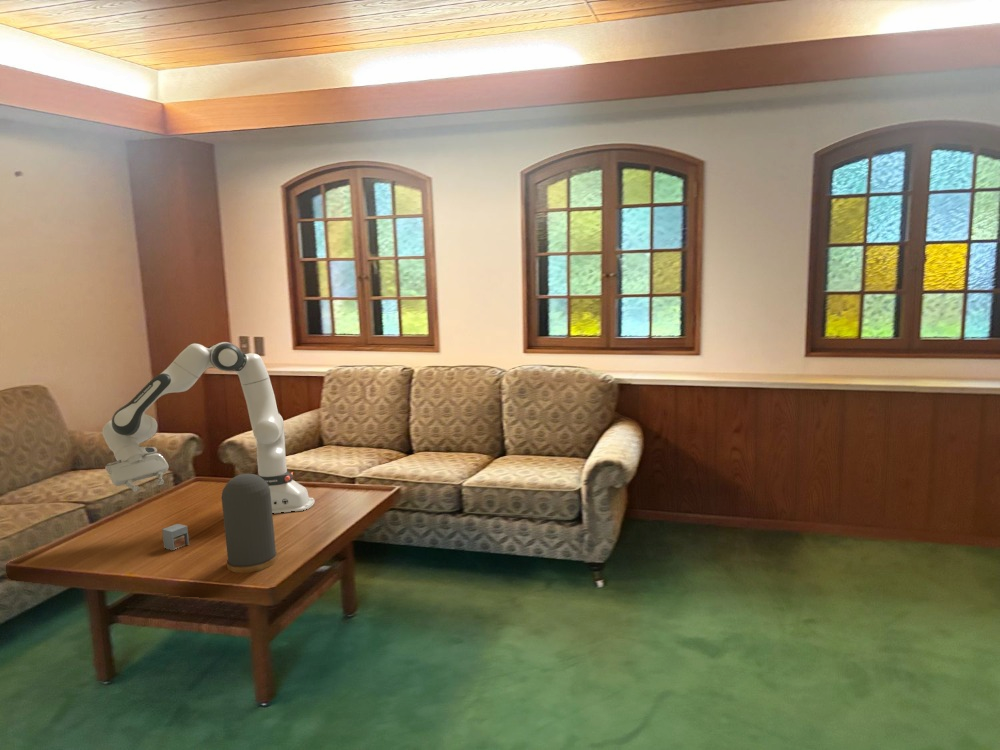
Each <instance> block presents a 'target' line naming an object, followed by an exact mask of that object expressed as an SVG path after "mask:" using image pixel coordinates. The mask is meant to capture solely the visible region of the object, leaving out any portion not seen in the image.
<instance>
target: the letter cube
mask: <svg viewBox="0 0 1000 750" xmlns="http://www.w3.org/2000/svg"><path fill="white" fill-rule="evenodd" d="M174 545H175V549H176V550H178V549H180V548H179V547H181V548H183V547H186V544H185V537H184V535H180V536H178V537H175V538H174ZM182 546H183V547H182ZM177 548H178V549H177Z"/></svg>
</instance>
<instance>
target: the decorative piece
mask: <svg viewBox="0 0 1000 750" xmlns="http://www.w3.org/2000/svg"><path fill="white" fill-rule="evenodd" d="M221 506H222V513H223V514H222V515H223V517H222V518H223V526H224V527H223V528H224V534H225V535H224V536H225V544H226V555H227V560H226V565H227V566H226V567H227V570H229V571H230V572H233V573H241V574H242V573H245V574H246V573H253V572H259V571H261V570H265V569H267V568H270V567H271V566H273V565H275V564H274V563H275V562H276V561H277V562H278V560H277V559H279V558H278V556H279V555H278V552H277V551H276V550H277V549H276V541H275V539H276V538H275V529H274V518H273V514H272V504H271V493H270V488H269V485H268V484H267V483H266V482H265V480H264V479H262V478H261V477H260V476H258V474H255V473H254V474H253V473H241V474H238V475H236V476H234V477H232V478H231V479H230V480H229V481H227V483H225V486H224V487H223V488H222V492H221ZM277 562H276V563H277Z"/></svg>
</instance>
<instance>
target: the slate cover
mask: <svg viewBox="0 0 1000 750" xmlns="http://www.w3.org/2000/svg"><path fill="white" fill-rule="evenodd" d="M161 532H162V534H161V535H162V541H163V548H164V549H165V548H166V550H169V549H170V550H169V551H172V550H175V545H174V538H175V537H178V536H180V535H184V537H185V545H186V544H187V545H186V546H190V539H189V537H190V536H189V530H188V525H184V524H180V523H176V524H172V525H171V526H167V527H165V528H162V529H161ZM175 551H176V550H175Z"/></svg>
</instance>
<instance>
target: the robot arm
mask: <svg viewBox="0 0 1000 750" xmlns="http://www.w3.org/2000/svg"><path fill="white" fill-rule="evenodd" d="M210 368H216V369H217V370H219V371H222V372H223V371H224V372H235V373H236V375H237V376H238V378H239V383H240V385H241V390H242V393H243V397H244V400H245V402H246V408H247V412H248V416H249V417H248V418H249V421H250V426H251V430H252V434H253V436H254V438H255V439H256V459H257V471H258V474H257V475H258V476H260V477H261V478H262V479H264V480H265V482H266V483H267V484H268V485H269V488H270V493H271V504H272V513H274V514H282V513H281V512H284V513H292V512H291V511H295V512H304V511H306V509H307V510H308V509H310V508H311V507H313V505H314V504H315V501H316V500H315V498H314V497H310V496H309V493H308V489H307V488H306V487H305V486H304V485H302V484H301V483H299V482H298V481H295V480H294V479H293V475H294V474H293V473H294V472H293V471H292V472H289V470H288V469H287V466H288V465H287V458H286V455H287V454H286V443H285V442H286V437H285V423H284V422H285V421H284V419H283V416H282V415H281V414H280V412H279V410H278V407H277V401H276V395H275V392H274V389H273V386H272V381H271V378H270V374H269V372H268V369H267V366H266V364H265V361H264V360H263V358H262V357H261V356H260V354H257V353H254V352H251V353H244V352H243V351H242V350H241V349H240V348H239V347H238V346H237V345H235V344H233V343H231V342H227V341H222V342H218V343H215V344H212V345H211V346H208V347H206V346H204V345H203V344H200V343H191V344H189V345H188V346H186V348H184V349H183V350H182V351H181V352H180V353H179V354H178V355H177V356H176V357H175V358H174V360H173V361H172V362H171V363H170V364H169V365H168V366H167V368H165V369H164V370H163V371H162V372H160V374H158V375H156V376H154V377H153V378H152V379H151V380H150V381H149V382H148V383H147V384H146V385H145V386H144V387H143V388H142V389H141V390H140V391H138V393H137V394H136V395H135V396H134V397H133V398H131V400H130V401H129V402H127V403H126V404H125V405H124V406H122V407H119V408H118V409H117V410H116V411H115V412H114V413H113V416H112V418H111V419H110V420H109V421H107V422H106V423H105V424H104V426H102V436H103V439H104V441H105V443H106V446H107V447H108V448H109V450H110V451H111V452H112V453H113V454H114V455H113V456H114V458H115V460H116V461H113V462H109V463H107V464H106V465H105V468H104V469H105V470H106V472H107V473H108V476H109V479H110V482H111V483H112V484H113V485H114V486H115V487H120V486H126V488H129V489H131V490H132V491H133V492H134V493H137V492H139V491H140V490H141V488H140V486H139V485H137V484H134V483H135V482H137V481H142V480H145V479H150V478H153V477H156V478H158V479H157V481H156V483H157V484H158V486H160V485H161V486H162V485H164V483H165V480H164V479H163V475H164V474H166V473H167V472H168V470H169V464H168V461H167V460H166V459H165V457H164V456H163V455H162V453H161V454H160V453H158V448H156V447H155V446H140V444H142V443H145V442H146V441H148V440H150V439H151V438H153V437H154V436H155V435H156V433H157V431H158V427H159V424H158V421H157V420H156V418H155V417H153V416H151V415H149V414H146V411H147V410H149V409H150V407H152V406H153V404H155V402H156V401H157V400H158V399H159V398H160V397H162V396H164V395H167V394H172V393H183V392H186V391H188V390H190V389H191V388H192V387H193V386H194V385H195V383H197V381H198V380H199V379H200V378H201V376H202V375H203V374H204V372H205V371H206V370H207V369H210ZM303 510H304V511H303Z"/></svg>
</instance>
